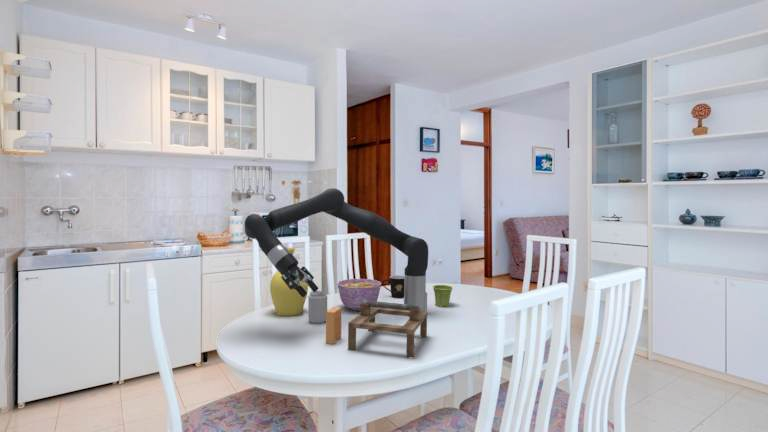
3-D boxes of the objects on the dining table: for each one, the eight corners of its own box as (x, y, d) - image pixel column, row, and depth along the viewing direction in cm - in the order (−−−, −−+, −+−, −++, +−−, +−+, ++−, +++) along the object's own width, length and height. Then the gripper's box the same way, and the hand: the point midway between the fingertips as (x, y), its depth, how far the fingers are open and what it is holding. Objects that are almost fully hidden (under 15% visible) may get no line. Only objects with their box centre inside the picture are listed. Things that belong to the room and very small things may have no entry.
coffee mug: (408, 295, 216) (408, 276, 216) (403, 299, 208) (403, 279, 208) (386, 293, 220) (387, 274, 220) (381, 297, 212) (381, 277, 212)
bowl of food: (384, 303, 199) (385, 279, 199) (376, 315, 180) (376, 288, 179) (343, 301, 203) (343, 277, 202) (331, 312, 183) (331, 286, 182)
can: (323, 324, 166) (323, 294, 165) (305, 323, 168) (305, 293, 167) (329, 319, 173) (329, 290, 173) (312, 318, 175) (312, 289, 174)
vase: (273, 319, 172) (273, 251, 171) (267, 309, 187) (267, 246, 186) (311, 315, 179) (312, 249, 177) (303, 306, 193) (303, 245, 192)
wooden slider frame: (348, 349, 140) (348, 307, 139) (370, 329, 161) (370, 293, 160) (412, 357, 133) (413, 314, 133) (426, 336, 154) (427, 298, 154)
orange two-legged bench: (325, 343, 146) (326, 311, 145) (333, 337, 152) (333, 307, 151) (333, 344, 145) (334, 312, 144) (341, 338, 151) (341, 307, 150)
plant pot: (455, 304, 199) (455, 286, 199) (447, 309, 192) (447, 290, 191) (437, 301, 204) (437, 284, 204) (428, 305, 197) (429, 287, 196)
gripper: (278, 255, 145) (308, 290, 143) (298, 250, 159) (326, 282, 156) (265, 269, 147) (294, 304, 144) (286, 263, 161) (313, 295, 158)
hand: (311, 292), depth 150 cm, fingers open, 8 cm apart
